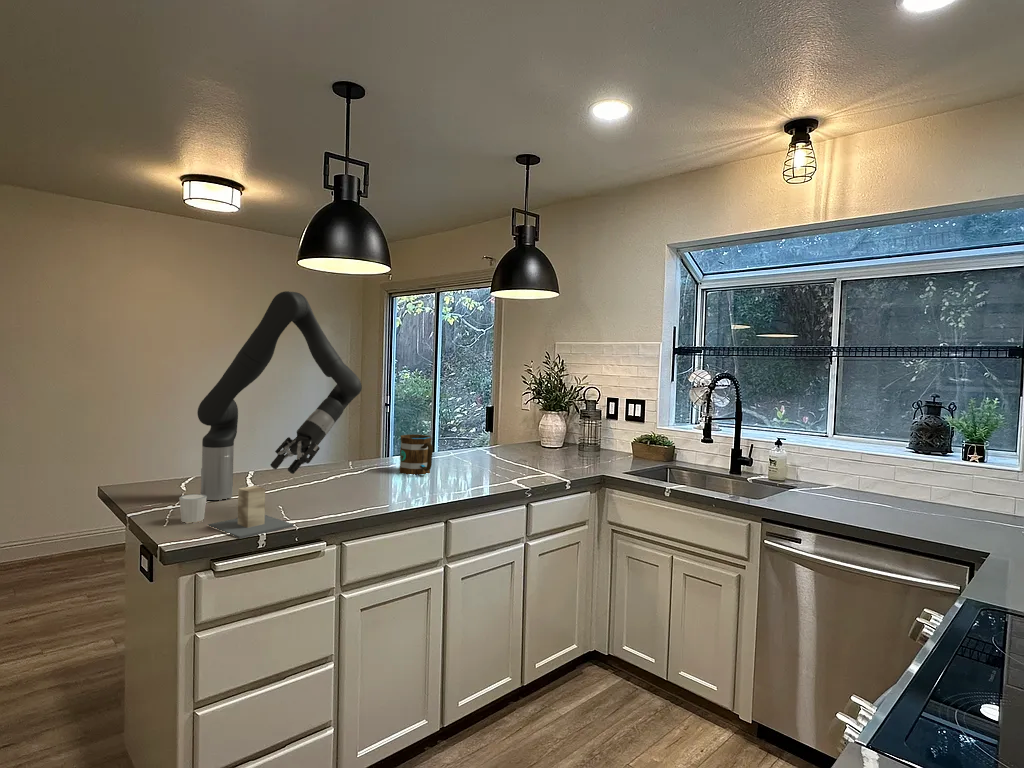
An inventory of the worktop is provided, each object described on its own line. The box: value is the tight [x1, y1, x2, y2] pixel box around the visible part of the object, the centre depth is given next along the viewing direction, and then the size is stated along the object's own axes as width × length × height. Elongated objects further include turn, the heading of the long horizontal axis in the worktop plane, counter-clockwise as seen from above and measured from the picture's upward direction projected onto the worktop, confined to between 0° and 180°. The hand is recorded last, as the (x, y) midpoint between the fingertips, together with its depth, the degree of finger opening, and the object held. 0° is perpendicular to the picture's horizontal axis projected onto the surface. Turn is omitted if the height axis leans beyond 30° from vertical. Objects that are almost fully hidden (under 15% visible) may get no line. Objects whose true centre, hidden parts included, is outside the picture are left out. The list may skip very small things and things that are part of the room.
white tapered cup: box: [178, 493, 207, 523], centre depth 170 cm, size 7×7×7 cm
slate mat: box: [207, 514, 294, 540], centre depth 168 cm, size 16×16×1 cm
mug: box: [398, 433, 434, 476], centre depth 251 cm, size 20×14×15 cm
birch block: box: [237, 485, 266, 528], centre depth 168 cm, size 5×5×10 cm
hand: (281, 469), depth 175 cm, fingers open, 8 cm apart
